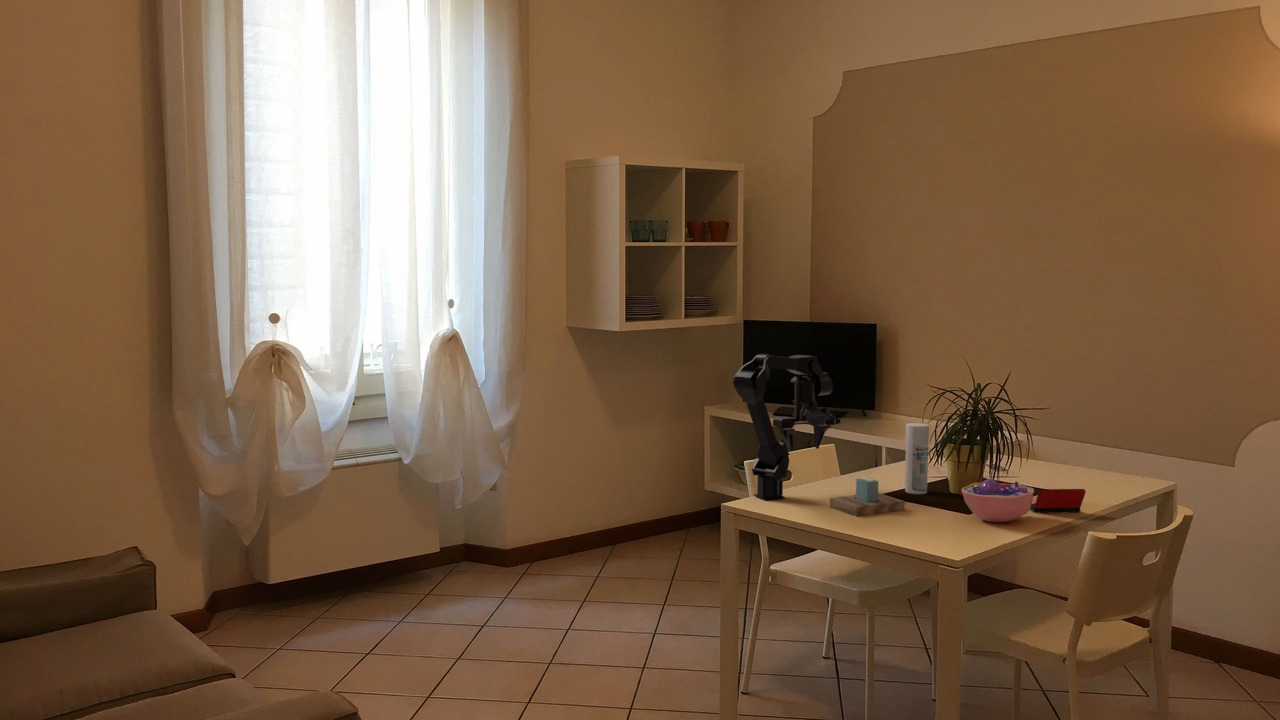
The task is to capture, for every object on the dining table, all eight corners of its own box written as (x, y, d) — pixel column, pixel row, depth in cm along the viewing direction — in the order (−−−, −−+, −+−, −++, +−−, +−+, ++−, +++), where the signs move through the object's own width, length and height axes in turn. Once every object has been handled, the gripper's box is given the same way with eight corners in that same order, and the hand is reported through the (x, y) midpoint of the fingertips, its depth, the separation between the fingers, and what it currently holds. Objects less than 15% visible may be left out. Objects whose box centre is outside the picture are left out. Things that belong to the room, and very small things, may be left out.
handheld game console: (1068, 507, 279) (1069, 480, 278) (1086, 516, 268) (1087, 489, 268) (1023, 507, 279) (1024, 480, 278) (1038, 516, 268) (1039, 489, 268)
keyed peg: (855, 507, 279) (856, 477, 278) (866, 506, 280) (867, 476, 280) (866, 511, 274) (867, 480, 274) (877, 510, 276) (878, 479, 275)
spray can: (917, 488, 302) (918, 422, 300) (932, 492, 296) (933, 425, 295) (900, 490, 299) (901, 423, 298) (914, 495, 294) (916, 426, 292)
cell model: (1050, 522, 262) (1052, 479, 261) (997, 532, 252) (998, 487, 251) (998, 509, 276) (999, 468, 275) (945, 518, 266) (946, 475, 265)
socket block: (856, 516, 269) (856, 507, 268) (829, 506, 279) (829, 497, 279) (904, 510, 275) (904, 501, 275) (876, 501, 286) (877, 492, 286)
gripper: (792, 402, 288) (792, 456, 290) (846, 399, 296) (846, 451, 297) (772, 398, 298) (771, 450, 300) (824, 394, 306) (824, 445, 307)
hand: (804, 449), depth 301 cm, fingers open, 9 cm apart
